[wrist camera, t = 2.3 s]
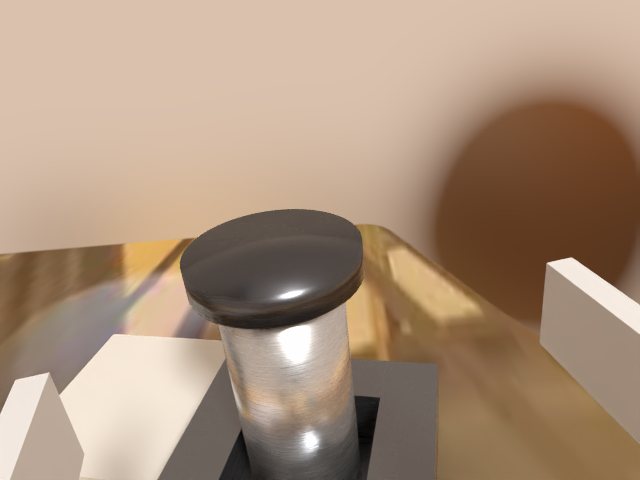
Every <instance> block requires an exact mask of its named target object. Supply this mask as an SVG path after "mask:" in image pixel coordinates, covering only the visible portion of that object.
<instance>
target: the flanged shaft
mask: <svg viewBox="0 0 640 480" xmlns="http://www.w3.org/2000/svg"><path fill="white" fill-rule="evenodd" d="M180 269H181V273H182V277H183V281H184V285H185V289H186V293H187V297H188V300H189V303H190V305H191V306H192V308H193V309H194V310H195V311H196V312H197V313H198V314H199V315H200V316H202V317H203V318H205V319H207V320H209V321H211V322H213V323H216V324H218V327H219V331H220V335H221V340H222V344H223V348H224V353H225V357H226V361H227V366H228V370H229V374H230V379H231V383H232V387H233V392H234V396H235V400H236V405H237V409H238V414H239V418H240V422H241V427H242V431H243V435H244V440H245V444H246V448H247V453H248V457H249V461H250V466H251V470H252V474H253V479H254V480H362V471H361V461H360V450H359V440H358V430H357V419H356V409H355V398H354V388H353V378H352V367H351V357H350V347H349V336H348V326H347V315H346V305H345V302H346V301H347V300H348V299H349V298H351V297H352V296H353V294H354V293H355V292H356V291H357V290H358V288H359V287H360V285H361V283H362V281H363V278H364V258H363V245H362V236H361V234H360V231H359V230H358V229H357V227H356V226H355V225H353V224H352V223H351V222H349V221H348V220H346V219H344V218H342V217H340V216H337V215H334V214H331V213H327V212H322V211H315V210H305V209H286V210H274V211H266V212H261V213H255V214H251V215H247V216H243V217H240V218H237V219H233V220H231V221H228V222H225V223H223V224H221V225H218V226H216V227H214V228H212V229H210V230H208V231H207V232H205V233H204V234H202V235H200V236H199V237H198V238H196V239H195V240H194V241H193V242H192V243H191V244H190V245H189V246H188V247H187V248H186V250H185V251H184V253H183V255H182V257H181V261H180Z"/></svg>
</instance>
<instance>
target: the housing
mask: <svg viewBox="0 0 640 480" xmlns="http://www.w3.org/2000/svg"><path fill="white" fill-rule="evenodd" d="M351 367H352V378H353V388H354V398H355V409H356V419H357V430H358V440H359V450H360V461H361V471H362V480H437V451H438V364H425V363H410V362H394V361H378V360H362V359H351ZM157 480H254V479H253V474H252V470H251V466H250V461H249V457H248V453H247V448H246V444H245V440H244V435H243V431H242V427H241V422H240V418H239V414H238V409H237V405H236V400H235V396H234V392H233V387H232V383H231V379H230V374H229V370H228V366H227V361H226V358H225V360H224V362H223V364H222V365H221V367H220V369H219V371H218V372H217V374H216V376H215V378H214V380H213V381H212V383H211V385H210V387H209V388H208V390H207V392H206V394H205V396H204V397H203V399H202V401H201V403H200V404H199V406H198V408H197V410H196V412H195V413H194V415H193V417H192V419H191V420H190V422H189V424H188V426H187V428H186V429H185V431H184V433H183V435H182V436H181V438H180V440H179V442H178V444H177V445H176V447H175V449H174V451H173V453H172V454H171V456H170V458H169V460H168V461H167V463H166V465H165V467H164V469H163V470H162V472H161V474H160V476H159V477H158V479H157Z"/></svg>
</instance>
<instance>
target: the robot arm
mask: <svg viewBox="0 0 640 480" xmlns="http://www.w3.org/2000/svg"><path fill="white" fill-rule="evenodd" d="M540 344H541V345H542V346H543V347H544V348H545V349H546V350H547V351H548V352H549V353H550V355H551V356H552V357H553V358H554V359H555V360H556V361H557V362H558V363H559V364H560V365H561V366H562V367H563V368H564V369H565V370H566V371H567V372H568V373H569V374H570V375H571V376H572V377H573V378H574V379H575V380H576V381H577V382H578V383H579V384H580V385H581V386H582V387H583V388H584V389H585V390H586V391H587V392H588V393H589V394H590V395H591V396H592V397H593V398H594V399H595V400H596V401H597V402H598V403H599V404H600V405H601V406H602V407H603V408H604V409H605V410H606V411H607V412H608V413H609V414H610V415H611V416H612V417H613V418H614V419H615V420H616V421H617V422H618V423H619V424H620V425H621V426H622V427H623V428H624V429H625V430H626V431H627V432H628V433H629V434H630V435H631V436H632V437H633V438H634V439H635V440H636V441H637V442H638V444H639V445H640V305H639V304H637V303H636V302H635V301H633V300H632V299H630V298H629V297H627V296H626V295H624V294H623V293H622V292H620V291H619V290H617V289H616V288H614V287H613V286H612V285H610V284H609V283H607V282H606V281H605V280H603V279H602V278H600V277H599V276H597V275H596V274H595V273H593V272H591V271H590V270H589V269H587V268H586V267H585V266H583V265H582V264H580V263H579V262H577V261H576V260H575V259H573V258H567V259H563V260H558V261H554V262H549V263H547V265H546V276H545V287H544V298H543V310H542V322H541V332H540ZM84 455H85V454H84V452H83V450H82V447H81V445H80V443H79V440H78V438H77V436H76V433H75V431H74V429H73V426H72V424H71V422H70V419H69V417H68V415H67V412H66V410H65V408H64V406H63V403H62V401H61V399H60V396H59V394H58V392H57V389H56V387H55V385H54V382H53V380H52V378H51V375H50V373H45V374H41V375H36V376H32V377H27V378H22V379H18V380H15V383H14V385H13V387H12V389H11V391H10V394H9V396H8V398H7V400H6V403H5V405H4V407H3V409H2V412H1V414H0V480H79V477H80V472H81V468H82V464H83V459H84Z"/></svg>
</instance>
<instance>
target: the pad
mask: <svg viewBox="0 0 640 480" xmlns="http://www.w3.org/2000/svg"><path fill="white" fill-rule="evenodd" d="M225 358H226V357H225V353H224V348H223V344H222V340H206V339H189V338H171V337H154V336H137V335H120V334H114V335H113V336H112V337H111V338H110V339H109V340H108V341H107V342H106V344H105V345H104V346H103V347H102V348H101V349H100V350H99V351H98V353H97V354H96V355H95V356H94V357H93V358H92V359H91V360H90V362H89V363H88V364H87V365H86V366H85V367H84V368H83V369H82V371H81V372H80V373H79V374H78V375H77V376H76V377H75V378H74V379H73V381H72V382H71V383H70V384H69V385H68V386H67V387H66V388H65V390H64V391H63V392H62V393H61V394H60V395H59V396H60V399H61V401H62V403H63V406H64V408H65V410H66V412H67V415H68V417H69V419H70V422H71V424H72V426H73V429H74V431H75V433H76V436H77V438H78V440H79V443H80V445H81V447H82V450H83V452H84V454H85V455H84V459H83V464H82V468H81V472H80V477H79V480H157V479H158V477H159V476H160V474H161V472H162V470H163V469H164V467H165V465H166V463H167V461H168V460H169V458H170V456H171V454H172V453H173V451H174V449H175V447H176V445H177V444H178V442H179V440H180V438H181V436H182V435H183V433H184V431H185V429H186V428H187V426H188V424H189V422H190V420H191V419H192V417H193V415H194V413H195V412H196V410H197V408H198V406H199V404H200V403H201V401H202V399H203V397H204V396H205V394H206V392H207V390H208V388H209V387H210V385H211V383H212V381H213V380H214V378H215V376H216V374H217V372H218V371H219V369H220V367H221V365H222V364H223V362H224V360H225Z"/></svg>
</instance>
